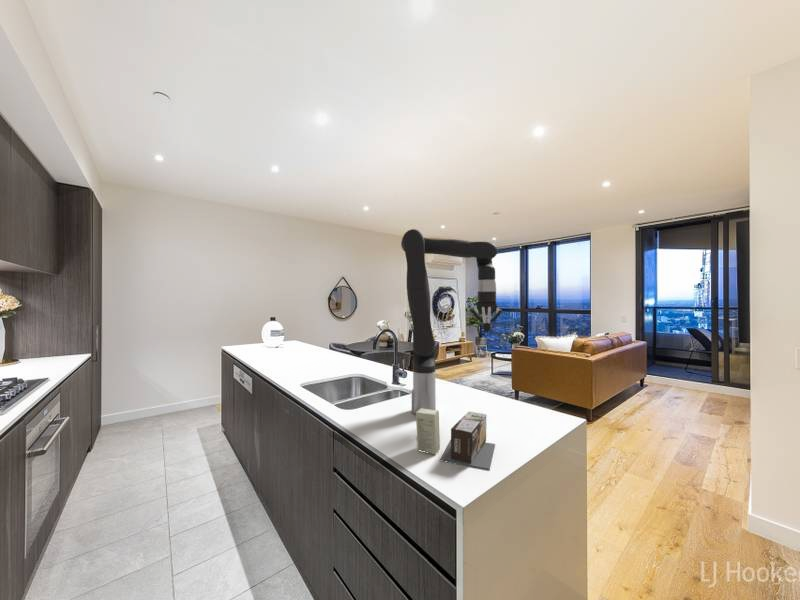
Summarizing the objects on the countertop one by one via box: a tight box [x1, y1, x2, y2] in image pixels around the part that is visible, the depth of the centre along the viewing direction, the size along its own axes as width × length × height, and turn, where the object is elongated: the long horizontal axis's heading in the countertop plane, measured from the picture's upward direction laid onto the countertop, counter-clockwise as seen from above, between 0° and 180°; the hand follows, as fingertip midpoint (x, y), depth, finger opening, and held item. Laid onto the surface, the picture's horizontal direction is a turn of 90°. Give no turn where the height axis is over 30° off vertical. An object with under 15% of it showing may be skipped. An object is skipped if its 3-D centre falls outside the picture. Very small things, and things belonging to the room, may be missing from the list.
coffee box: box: [450, 411, 487, 463], centre depth 98 cm, size 9×6×16 cm
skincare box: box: [415, 408, 441, 455], centre depth 99 cm, size 6×4×12 cm
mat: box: [439, 439, 496, 471], centre depth 97 cm, size 14×16×1 cm
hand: (487, 332), depth 134 cm, fingers closed
